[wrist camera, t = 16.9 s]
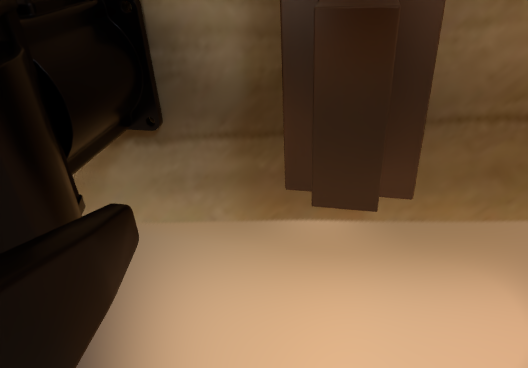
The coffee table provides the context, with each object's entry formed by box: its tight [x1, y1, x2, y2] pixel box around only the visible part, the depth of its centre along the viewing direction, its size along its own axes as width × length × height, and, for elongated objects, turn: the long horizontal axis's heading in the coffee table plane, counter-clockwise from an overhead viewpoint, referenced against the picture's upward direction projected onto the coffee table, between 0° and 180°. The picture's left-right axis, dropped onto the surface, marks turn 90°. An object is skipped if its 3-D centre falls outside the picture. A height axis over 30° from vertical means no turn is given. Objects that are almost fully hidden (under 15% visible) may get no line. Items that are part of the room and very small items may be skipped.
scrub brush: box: [280, 0, 446, 212], centre depth 16 cm, size 10×6×6 cm, turn 3°
